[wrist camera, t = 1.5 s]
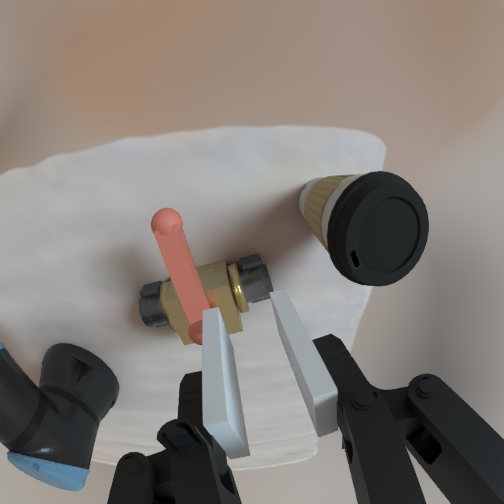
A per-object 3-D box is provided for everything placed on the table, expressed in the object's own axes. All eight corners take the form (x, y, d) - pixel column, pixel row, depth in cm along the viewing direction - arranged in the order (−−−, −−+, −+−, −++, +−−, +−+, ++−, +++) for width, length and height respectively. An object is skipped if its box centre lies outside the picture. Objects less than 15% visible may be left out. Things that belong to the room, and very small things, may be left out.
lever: (223, 326, 29) (224, 342, 26) (195, 333, 29) (194, 349, 26) (181, 200, 24) (177, 206, 21) (148, 211, 24) (141, 218, 21)
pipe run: (158, 318, 36) (149, 352, 29) (141, 281, 34) (127, 311, 27) (269, 289, 37) (282, 319, 30) (259, 248, 35) (271, 273, 28)
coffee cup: (364, 218, 35) (440, 257, 21) (303, 252, 35) (356, 314, 21) (339, 150, 31) (419, 155, 17) (270, 184, 31) (317, 208, 17)
